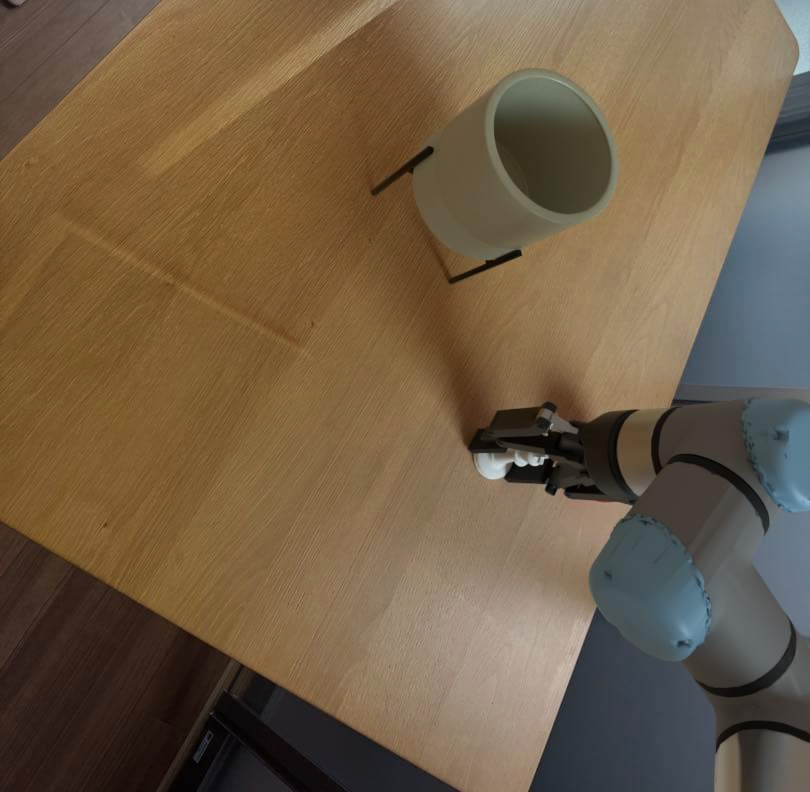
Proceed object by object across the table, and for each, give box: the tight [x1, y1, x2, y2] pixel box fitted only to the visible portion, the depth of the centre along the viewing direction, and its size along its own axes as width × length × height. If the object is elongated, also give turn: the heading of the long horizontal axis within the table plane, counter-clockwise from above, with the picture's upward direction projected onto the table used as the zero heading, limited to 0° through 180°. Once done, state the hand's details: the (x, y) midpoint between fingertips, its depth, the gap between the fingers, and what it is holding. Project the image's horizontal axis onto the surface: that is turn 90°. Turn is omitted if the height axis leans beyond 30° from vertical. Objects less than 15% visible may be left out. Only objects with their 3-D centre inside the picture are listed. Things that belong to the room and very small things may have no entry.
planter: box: [370, 67, 620, 285], centre depth 76 cm, size 15×16×23 cm
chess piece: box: [473, 448, 549, 480], centre depth 77 cm, size 5×5×10 cm
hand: (493, 455), depth 81 cm, fingers closed on chess piece, 5 cm apart
